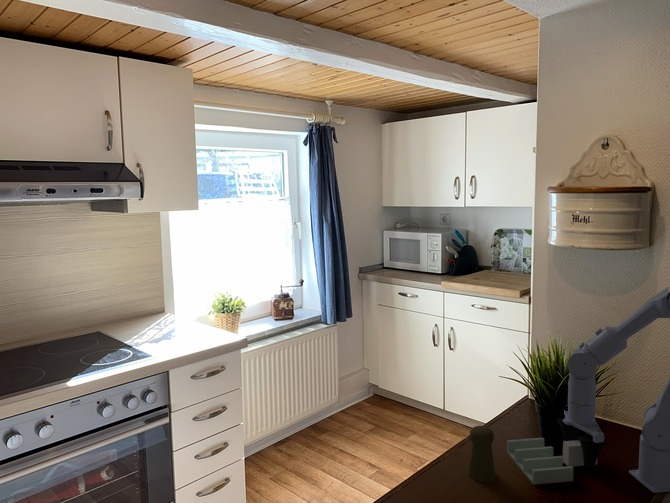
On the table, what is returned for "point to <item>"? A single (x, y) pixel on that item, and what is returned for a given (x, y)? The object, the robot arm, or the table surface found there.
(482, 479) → the dark green pepper mill
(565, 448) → the white rectangular block
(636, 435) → the table surface
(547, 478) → the rack
